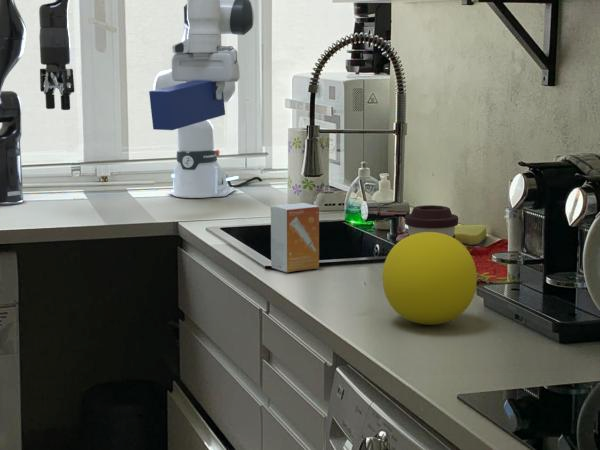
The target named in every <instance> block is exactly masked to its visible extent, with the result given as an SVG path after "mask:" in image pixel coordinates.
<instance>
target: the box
mask: <svg viewBox="0 0 600 450" xmlns="http://www.w3.org/2000/svg"><path fill="white" fill-rule="evenodd" d="M217 88H218V86H216V82H211V81H191V82H186V83H182V84H178V85H174V86H170V87H165V88H161V89H157V90H154V89H153V90H149V91H148V94H149V105H150V112H151V121H152V129H153V130H154V131H155V130H156V131H175V130H177V129H178V128H182V127H185V126H189V125H192V124H195V123H199V122H202V121H206V120H209V121H210V120H212V119H216V118H219V117H223V116H226V107H225V103H224V96H223V92H222V99H219V100H216V99H214V98H213V97H214V96H213V93H216V91H217Z"/></svg>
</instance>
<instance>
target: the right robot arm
mask: <svg viewBox="0 0 600 450" xmlns="http://www.w3.org/2000/svg"><path fill="white" fill-rule="evenodd" d="M186 1H187V2H186V4H185V5H184V6H183V15H184V16H183V20H184V21H183V29H182V36H181V41H180V42H178V43H175V44H173V45H172V46H171V51H172V53H173V55H172V57H171V65H170V66H171V67H170V68H171V69H167V70H163V71H160V72H159V73H158V74H157V75H156V77H155V79H154V83H153V90H157V89H161V88H165V87H170V86H174V85H178V84H182V83H186V82H191V81H211V82H216V86H218V88H217V91H216V93H213V96H214V97H213V98H214V99H216V100H219V99H222V92H223V96H224V104H226V103H229V102H230V101H231V100H232V98H233V97H234V95H235V92H236V83H237V82H238V81H239V80H240V77H241V75H240V66H239V61H238V60H239V59H238V56H239V55H238V51H237V49H236V48H234V47H233V45H226V46H225V45H222V35H236V36H238V35H239V36H245V35H246V34H248V32H249V31H251V30H252V29H253V27H254V23H255V12H254V10H255V9H254V7H253V5H252V2H251V1H250V0H186ZM176 133H177V134H176V135H177V150H176V155H175V156H176V162H177V164H176V166H175V167H174V168H173V173H172V174H171V178H173V180H172V189H171V190H169V195H171V196H174V197H177V198H185V199H186V198H189V199H197V198H198V199H201V198H202V199H203V198H215V197H216V198H217V197H218V198H219V197H220V198H221V197H226V196H228V195H229V194H231V193H233V192H234V191H236V189H235V188H240V187H242V186H245V185H248V184H249V183H251V182H254V181H255V180H258V182H263V179H262V178H261V177H260V176H254V177H251V178H249V179H246V180H245V181H243V182H239V183H238V184H232V183H231V181H234V180H238V179H239V176H238V175H236V176H232V177H228V173H227V172H226V171H225V170H224V169H223V167H222V166H221V165H220V164H219V163H218V157H220V153H221V151H220V149H215V140H214V139H215V138H214V137H215V135H214V126H213V124H212V122H211V121H210V119H209V120H206V121H202V122H199V123H195V124H192V125H189V126H185V127H182V128H178V129H176Z"/></svg>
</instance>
